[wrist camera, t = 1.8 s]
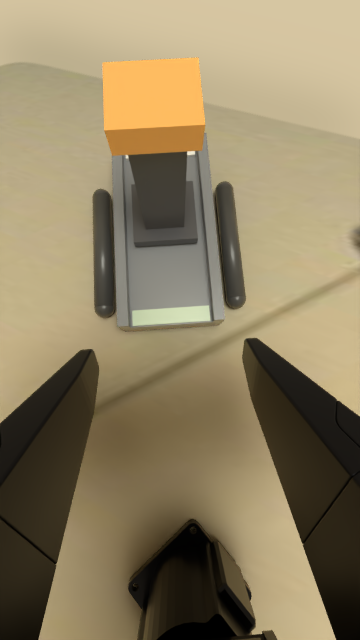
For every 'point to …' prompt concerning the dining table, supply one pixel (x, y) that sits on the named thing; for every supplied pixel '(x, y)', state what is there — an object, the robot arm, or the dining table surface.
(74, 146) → the dining table surface
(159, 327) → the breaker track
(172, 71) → the orange-capped post
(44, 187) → the dining table surface
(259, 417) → the robot arm
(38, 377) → the dining table surface
